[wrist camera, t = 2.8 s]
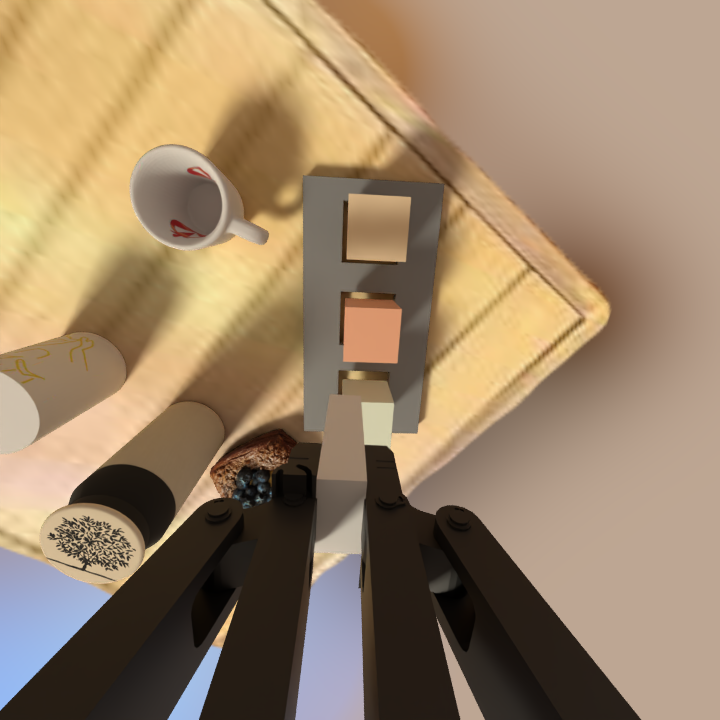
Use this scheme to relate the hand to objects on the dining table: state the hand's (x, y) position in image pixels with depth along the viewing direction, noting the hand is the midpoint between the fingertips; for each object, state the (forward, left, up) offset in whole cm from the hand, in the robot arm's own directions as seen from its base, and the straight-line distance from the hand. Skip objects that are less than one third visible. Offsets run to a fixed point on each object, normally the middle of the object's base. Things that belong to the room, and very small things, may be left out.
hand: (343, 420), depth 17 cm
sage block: (+8, +2, -21) cm, 22 cm away
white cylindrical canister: (+6, -30, -24) cm, 39 cm away
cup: (-11, -13, -24) cm, 29 cm away
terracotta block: (-1, +2, -21) cm, 21 cm away
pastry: (+20, -9, -25) cm, 33 cm away
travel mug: (+14, -19, -24) cm, 34 cm away
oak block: (-10, +2, -21) cm, 23 cm away
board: (-1, +2, -24) cm, 24 cm away
